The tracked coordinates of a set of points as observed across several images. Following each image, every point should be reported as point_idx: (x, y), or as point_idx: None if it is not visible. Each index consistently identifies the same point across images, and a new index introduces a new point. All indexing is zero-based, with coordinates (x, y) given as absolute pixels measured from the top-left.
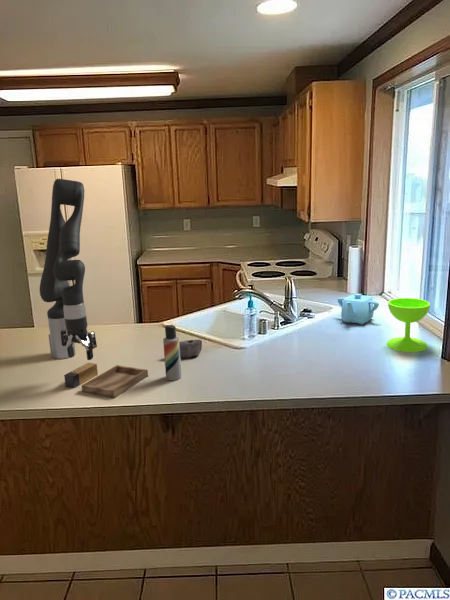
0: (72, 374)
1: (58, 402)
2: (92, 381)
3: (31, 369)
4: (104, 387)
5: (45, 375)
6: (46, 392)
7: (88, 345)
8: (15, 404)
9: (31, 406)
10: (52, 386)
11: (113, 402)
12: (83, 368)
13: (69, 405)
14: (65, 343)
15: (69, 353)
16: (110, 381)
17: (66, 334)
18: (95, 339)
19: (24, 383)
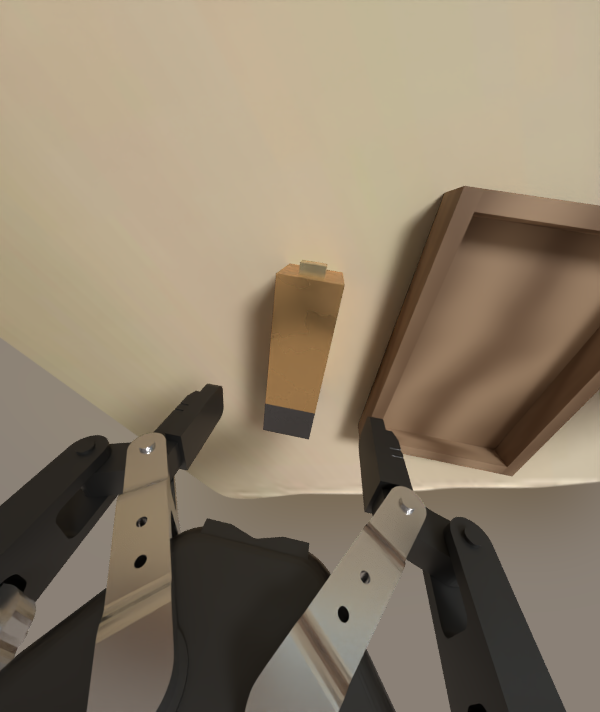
0: (293, 422)
1: (321, 475)
2: (385, 409)
3: (11, 270)
4: (437, 405)
5: (123, 319)
6: (245, 432)
7: (374, 521)
8: (223, 482)
9: (268, 489)
10: (229, 398)
11: (496, 473)
12: (302, 361)
13: (361, 486)
14: (114, 493)
15: (205, 436)
16: (448, 354)
17: (20, 641)
18: (544, 677)
19: (126, 387)
